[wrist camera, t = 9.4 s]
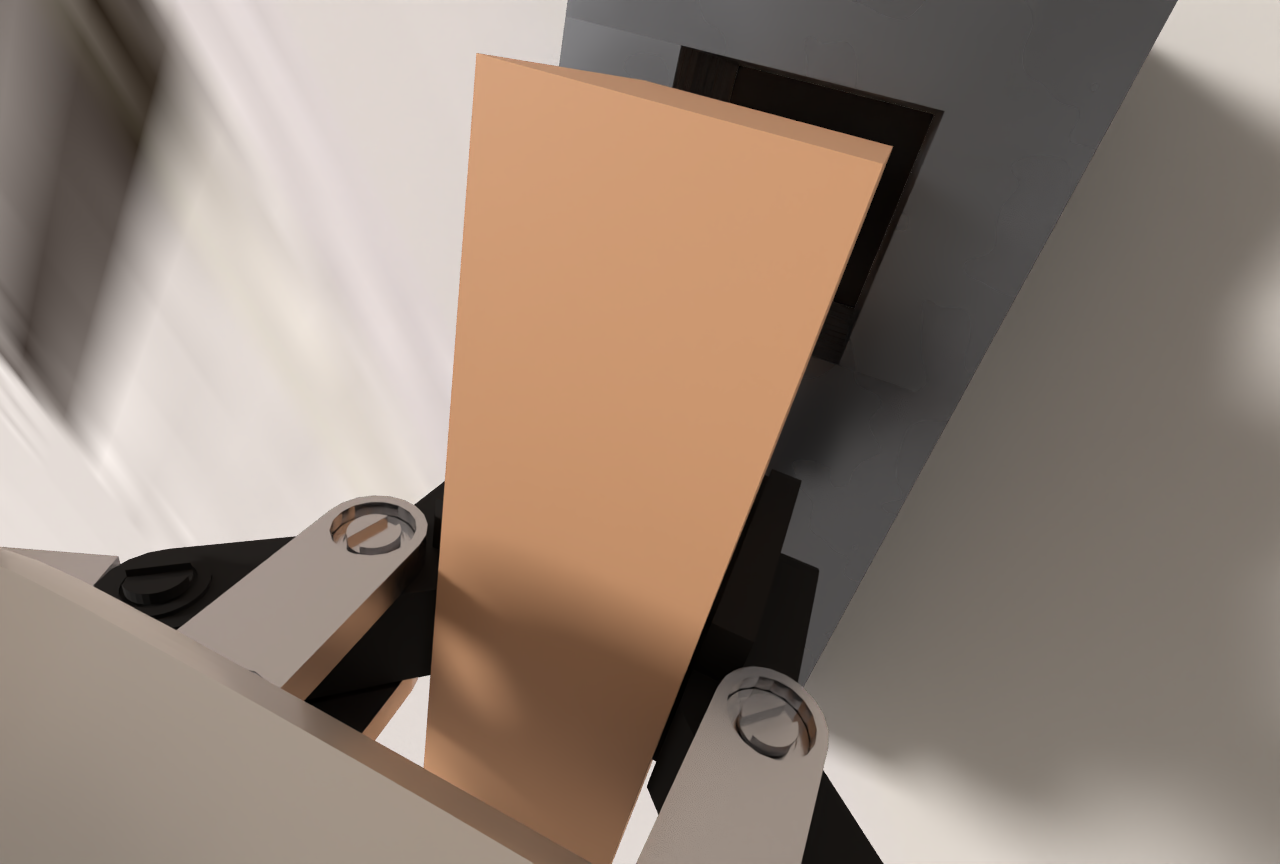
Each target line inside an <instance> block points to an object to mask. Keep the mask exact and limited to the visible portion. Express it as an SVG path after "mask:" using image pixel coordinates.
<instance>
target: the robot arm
mask: <svg viewBox="0 0 1280 864" xmlns="http://www.w3.org/2000/svg"><path fill="white" fill-rule="evenodd" d="M801 482H802V480H800V479H797V478H794V477H792V476H789V475H787V474H784V473H782V472H779V471H777V470H774V469H772V470H771V472H770V475H769V476H767V475H764V477H763V480H762V482H761V485H760V487H759V490H758V493H757V495H756V498H755V500H754V503H753V505H752V508H751V510H750V513H749V515H748V518H747V520H746V523H745V525H744V528H743V530H742V533H741V535H740V538H739V540H738V543H737V545H736V548H735V550H734V553H733V555H732V558H731V560H730V563H729V565H728V567H727V570H726V572H725V575H724V577H723V580H722V582H721V585H720V587H719V590H718V592H717V595H716V597H715V600H714V602H713V605H712V607H711V610H710V612H709V615H708V617H707V620H706V622H705V625H704V628H703V630H702V633H701V635H700V638H699V640H698V643H697V645H696V648H695V651H694V653H693V656H692V658H691V661H690V663H689V666H688V668H687V671H686V674H685V676H684V679H683V681H682V684H681V686H680V689H679V692H678V694H677V697H676V699H675V702H674V704H673V707H672V709H671V712H670V715H669V717H668V720H667V722H666V725H665V727H664V730H663V733H662V735H661V738H660V740H659V743H658V745H657V748H656V750H655V753H654V756H653V758H652V760H654V761H656V764H655V766H654V769H653V772H652V774H651V777H650V779H649V782H648V785H647V788H648V791H649V793H650V795H651V798H652V800H653V803H654V805H655V808H656V810H657V812H658V817H657V819H656V822H655V824H654V826H653V828H652V830H651V832H650V835H649V837H648V839H647V841H646V843H645V845H644V848H643V850H642V852H641V854H640V856H639V858H638V861H637V863H636V864H883V862H882V861H881V859H880V858H879V856H878V855H877V853H876V851H875V850H874V848H873V847H872V845H871V844H870V842H869V841H868V839H867V837H866V836H865V834H864V833H863V831H862V830H861V828H860V827H859V825H858V823H857V822H856V820H855V819H854V817H853V816H852V814H851V813H850V811H849V809H848V808H847V806H846V805H845V803H844V802H843V800H842V799H841V797H840V795H839V794H838V792H837V791H836V789H835V788H834V786H833V785H832V783H831V781H830V780H829V778H828V777H827V775H826V774H825V772H824V771H823V768H824V763H825V759H826V755H827V751H828V740H829V730H828V727H827V724H826V720H825V717H824V714H823V712H822V711H821V709H820V708H819V706H818V704H817V703H816V701H815V699H814V698H813V697H812V696H811V695H810V694H809V693H808V692H807V691H806V690H805V689H804V688H803V687H802V686H801V685H800V684H798V680H799V675H800V670H801V664H802V659H803V654H804V649H805V644H806V639H807V634H808V629H809V623H810V618H811V613H812V608H813V603H814V598H815V593H816V587H817V582H818V577H819V568H816V567H814V566H812V565H809V564H807V563H804V562H802V561H800V560H797V559H795V558H793V557H790V556H788V555H785V554H783V553H781V550H782V547H783V543H784V540H785V537H786V533H787V530H788V526H789V523H790V520H791V516H792V513H793V509H794V506H795V503H796V499H797V496H798V492H799V489H800V486H801ZM444 487H445V481H444V482H443V483H442V484H440V485H439V486H438V487H437V488H435V489H434V490H433V491H431V492H430V493H429V494H428V495H426V496H425V497H424V498H422V499H421V500H420V501H419V502H417V503H416V504H415V505H413V504H411V503H409V502H407V501H405V500H402V499H398V498H394V497H390V496H366V497H358V498H355V499H352V500H349V501H346V502H343V503H341V504H339V505H338V506H336V507H334V508H333V509H331V510H329V511H328V512H327V513H326V514H324V515H323V516H322V517H320V518H319V519H318V520H317V521H315V522H314V523H313V524H312V525H310V526H309V527H308V528H306V529H305V530H304V531H303V532H301V533H300V534H299V535H297V536H295V537H285V538H275V539H264V540H254V541H244V542H234V543H224V544H214V545H204V546H194V547H183V548H173V549H166V550H160V551H155V552H150V553H146V554H144V555H141V556H138V557H135V558H132V559H129V560H127V561H126V562H124V563H122V564H120V561H119V557H118V556H109V555H96V554H84V553H71V552H59V551H46V550H33V549H21V548H8V547H0V864H592V863H590V862H589V861H587V860H585V859H583V858H582V857H580V856H578V855H576V854H575V853H573V852H571V851H569V850H568V849H566V848H564V847H562V846H560V845H559V844H557V843H555V842H553V841H552V840H550V839H548V838H546V837H545V836H543V835H541V834H539V833H538V832H536V831H534V830H532V829H531V828H529V827H527V826H525V825H524V824H522V823H520V822H518V821H517V820H515V819H513V818H511V817H509V816H508V815H506V814H504V813H502V812H501V811H499V810H497V809H495V808H493V807H492V806H490V805H488V804H486V803H485V802H483V801H481V800H479V799H477V798H476V797H474V796H472V795H470V794H469V793H467V792H465V791H463V790H461V789H460V788H458V787H456V786H454V785H453V784H451V783H449V782H447V781H445V780H444V779H442V778H440V777H438V776H437V775H435V774H433V773H431V772H429V771H428V770H426V769H424V768H422V767H421V766H419V765H417V764H415V763H413V762H412V761H410V760H408V759H406V758H405V757H403V756H401V755H399V754H397V753H396V752H394V751H392V750H390V749H389V748H387V747H385V746H383V745H381V744H380V743H378V742H376V741H375V740H376V738H377V737H378V736H379V734H380V733H381V732H382V730H383V729H384V727H385V726H386V725H387V723H388V722H389V721H390V719H391V718H392V717H393V715H394V714H395V713H396V711H397V710H398V709H399V707H400V706H401V705H402V703H403V702H404V700H405V699H406V698H407V696H408V695H409V694H410V692H411V691H412V689H413V687H414V685H415V684H416V682H417V680H418V677H422V676H427V675H431V663H432V649H433V636H434V622H435V609H436V595H437V582H438V568H439V555H440V541H441V528H442V514H443V500H444Z"/></svg>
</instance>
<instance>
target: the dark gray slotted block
mask: <svg viewBox="0 0 1280 864" xmlns="http://www.w3.org/2000/svg"><path fill="white" fill-rule="evenodd" d="M1177 1H1178V0H568V3H567V10H566V18H565V25H564V33H563V40H562V48H561V55H560V63H559V67H565V68H571V69H577V70H583V71H590V72H596V73H602V74H608V75H614V76H620V77H627V78H633V79H639V80H645V81H648V82H652V83H656V84H660V85H664V86H667V87H671V88H675V89H679V90H682V91H686V92H690V93H694V94H697V95H701V96H705V97H709V98H712V99H716V100H720V101H724V102H727V103H730V99H731V95H732V91H733V87H734V83H735V80H736V76H737V72H738V68H739V65H740V66H744V67H748V68H752V69H756V70H760V71H764V72H768V73H772V74H776V75H780V76H783V77H787V78H791V79H795V80H799V81H803V82H807V83H811V84H815V85H819V86H823V87H827V88H831V89H835V90H839V91H843V92H847V93H851V94H855V95H859V96H863V97H867V98H871V99H875V100H879V101H883V102H887V103H891V104H895V105H899V106H903V107H907V108H911V109H915V110H919V111H923V112H927V113H931V114H934V116H933V119H932V121H931V123H930V126H929V128H928V131H927V133H926V135H925V138H924V140H923V143H922V145H921V148H920V150H919V152H918V155H917V157H916V160H915V162H914V165H913V167H912V169H911V172H910V174H909V177H908V179H907V182H906V184H905V186H904V189H903V191H902V194H901V196H900V199H899V201H898V203H897V206H896V208H895V211H894V213H893V215H892V218H891V220H890V223H889V225H888V228H887V230H886V232H885V235H884V237H883V240H882V242H881V245H880V247H879V249H878V252H877V254H876V257H875V259H874V262H873V264H872V266H871V269H870V271H869V274H868V276H867V278H866V281H865V283H864V286H863V288H862V291H861V293H860V295H859V298H858V300H857V303H856V305H855V308H852V307H849V306H846V305H843V304H840V303H837V302H834V301H832V304H831V306H830V309H829V311H828V314H827V316H826V319H825V321H824V324H823V327H822V329H821V332H820V334H819V337H818V339H817V342H816V344H815V347H814V350H813V352H812V355H811V357H810V360H809V362H808V365H807V367H806V370H805V373H804V375H803V378H802V380H801V383H800V385H799V388H798V390H797V393H796V396H795V398H794V401H793V403H792V406H791V408H790V411H789V413H788V416H787V419H786V421H785V424H784V426H783V429H782V431H781V434H780V436H779V439H778V442H777V444H776V447H775V449H774V452H773V454H772V457H771V459H770V462H769V464H768V467H767V470H766V472H765V475H767V476H769V475H770V472H771V470H772V469H774V470H777V471H779V472H782V473H784V474H787V475H789V476H792V477H794V478H797V479H800V480H802V482H801V486H800V489H799V492H798V496H797V499H796V503H795V506H794V509H793V513H792V516H791V520H790V523H789V526H788V530H787V533H786V537H785V540H784V543H783V547H782V550H781V553H783V554H785V555H788V556H790V557H793V558H795V559H797V560H800V561H802V562H804V563H807V564H809V565H812V566H814V567H816V568H819V577H818V582H817V587H816V593H815V598H814V603H813V608H812V613H811V618H810V623H809V629H808V634H807V639H806V644H805V649H804V654H803V659H802V664H801V670H800V675H799V680H798V684H800V685H801V686H802V687H804V685H805V683H806V681H807V679H808V677H809V676H810V674H811V672H812V670H813V668H814V666H815V665H816V663H817V661H818V659H819V657H820V655H821V654H822V652H823V650H824V648H825V646H826V644H827V643H828V641H829V639H830V637H831V635H832V633H833V632H834V630H835V628H836V626H837V624H838V622H839V621H840V619H841V617H842V615H843V613H844V611H845V610H846V608H847V606H848V604H849V602H850V600H851V599H852V597H853V595H854V593H855V591H856V589H857V588H858V586H859V584H860V582H861V580H862V578H863V577H864V575H865V573H866V571H867V569H868V567H869V566H870V564H871V562H872V560H873V558H874V556H875V555H876V553H877V551H878V549H879V547H880V545H881V543H882V542H883V540H884V538H885V536H886V534H887V532H888V531H889V529H890V527H891V525H892V523H893V521H894V520H895V518H896V516H897V514H898V512H899V510H900V509H901V507H902V505H903V503H904V501H905V499H906V498H907V496H908V494H909V492H910V490H911V488H912V487H913V485H914V483H915V481H916V479H917V477H918V476H919V474H920V472H921V470H922V468H923V466H924V465H925V463H926V461H927V459H928V457H929V455H930V454H931V452H932V450H933V448H934V446H935V444H936V443H937V441H938V439H939V437H940V435H941V433H942V432H943V430H944V428H945V426H946V424H947V422H948V421H949V419H950V417H951V415H952V413H953V411H954V410H955V408H956V406H957V404H958V402H959V400H960V399H961V397H962V395H963V393H964V391H965V389H966V388H967V386H968V384H969V382H970V380H971V378H972V377H973V375H974V373H975V371H976V369H977V367H978V366H979V364H980V362H981V360H982V358H983V356H984V355H985V353H986V351H987V349H988V347H989V345H990V344H991V342H992V340H993V338H994V336H995V334H996V333H997V331H998V329H999V327H1000V325H1001V323H1002V322H1003V320H1004V318H1005V316H1006V314H1007V312H1008V311H1009V309H1010V307H1011V305H1012V303H1013V301H1014V300H1015V298H1016V296H1017V294H1018V292H1019V290H1020V289H1021V287H1022V285H1023V283H1024V281H1025V279H1026V278H1027V276H1028V274H1029V272H1030V270H1031V268H1032V267H1033V265H1034V263H1035V261H1036V259H1037V257H1038V256H1039V254H1040V252H1041V250H1042V248H1043V246H1044V245H1045V243H1046V241H1047V239H1048V237H1049V235H1050V234H1051V232H1052V230H1053V228H1054V226H1055V224H1056V223H1057V221H1058V219H1059V217H1060V215H1061V213H1062V212H1063V210H1064V208H1065V206H1066V204H1067V202H1068V201H1069V199H1070V197H1071V195H1072V193H1073V191H1074V190H1075V188H1076V186H1077V184H1078V182H1079V180H1080V179H1081V177H1082V175H1083V173H1084V171H1085V169H1086V168H1087V166H1088V164H1089V162H1090V160H1091V158H1092V157H1093V155H1094V153H1095V151H1096V149H1097V147H1098V146H1099V144H1100V142H1101V140H1102V138H1103V136H1104V135H1105V133H1106V131H1107V129H1108V127H1109V125H1110V123H1111V122H1112V120H1113V118H1114V116H1115V114H1116V112H1117V111H1118V109H1119V107H1120V105H1121V103H1122V101H1123V100H1124V98H1125V96H1126V94H1127V92H1128V90H1129V89H1130V87H1131V85H1132V83H1133V81H1134V79H1135V78H1136V76H1137V74H1138V72H1139V70H1140V68H1141V67H1142V65H1143V63H1144V61H1145V59H1146V57H1147V56H1148V54H1149V52H1150V50H1151V48H1152V46H1153V45H1154V43H1155V41H1156V39H1157V37H1158V35H1159V34H1160V32H1161V30H1162V28H1163V26H1164V24H1165V23H1166V21H1167V19H1168V17H1169V15H1170V13H1171V12H1172V10H1173V8H1174V6H1175V4H1176V2H1177Z"/></svg>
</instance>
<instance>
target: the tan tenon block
mask: <svg viewBox="0 0 1280 864" xmlns="http://www.w3.org/2000/svg"><path fill="white" fill-rule="evenodd" d="M892 148H893V146H889V145H885V144H882V143H878V142H874V141H870V140H867V139H863V138H859V137H855V136H852V135H848V134H844V133H840V132H837V131H833V130H829V129H825V128H822V127H818V126H814V125H810V124H806V123H803V122H799V121H795V120H791V119H788V118H784V117H780V116H776V115H773V114H769V113H765V112H761V111H758V110H754V109H750V108H746V107H743V106H739V105H735V104H731V103H727V102H724V101H720V100H716V99H712V98H709V97H705V96H701V95H697V94H694V93H690V92H686V91H682V90H679V89H675V88H671V87H667V86H664V85H660V84H656V83H652V82H648V81H645V80H639V79H633V78H627V77H620V76H614V75H608V74H602V73H596V72H590V71H583V70H577V69H571V68H565V67H559V66H553V65H547V64H540V63H534V62H528V61H522V60H516V59H510V58H503V57H497V56H491V55H485V54H479V53H477V54H476V68H475V82H474V95H473V109H472V122H471V136H470V149H469V163H468V176H467V190H466V203H465V217H464V230H463V244H462V257H461V271H460V284H459V298H458V311H457V325H456V338H455V352H454V365H453V379H452V392H451V406H450V419H449V433H448V446H447V460H446V473H445V487H444V500H443V514H442V528H441V541H440V555H439V568H438V582H437V595H436V609H435V622H434V636H433V649H432V663H431V676H430V690H429V703H428V717H427V730H426V744H425V757H424V769H426V770H428V771H429V772H431V773H433V774H435V775H437V776H438V777H440V778H442V779H444V780H445V781H447V782H449V783H451V784H453V785H454V786H456V787H458V788H460V789H461V790H463V791H465V792H467V793H469V794H470V795H472V796H474V797H476V798H477V799H479V800H481V801H483V802H485V803H486V804H488V805H490V806H492V807H493V808H495V809H497V810H499V811H501V812H502V813H504V814H506V815H508V816H509V817H511V818H513V819H515V820H517V821H518V822H520V823H522V824H524V825H525V826H527V827H529V828H531V829H532V830H534V831H536V832H538V833H539V834H541V835H543V836H545V837H546V838H548V839H550V840H552V841H553V842H555V843H557V844H559V845H560V846H562V847H564V848H566V849H568V850H569V851H571V852H573V853H575V854H576V855H578V856H580V857H582V858H583V859H585V860H587V861H589V862H590V863H592V864H612V862H613V859H614V857H615V854H616V852H617V849H618V847H619V844H620V842H621V839H622V837H623V834H624V832H625V829H626V827H627V824H628V822H629V819H630V817H631V814H632V811H633V809H634V806H635V804H636V801H637V799H638V796H639V794H640V791H641V789H642V786H643V784H644V781H645V779H646V776H647V773H648V771H649V768H650V766H651V763H652V761H653V760H652V758H653V756H654V753H655V750H656V748H657V745H658V743H659V740H660V738H661V735H662V733H663V730H664V727H665V725H666V722H667V720H668V717H669V715H670V712H671V709H672V707H673V704H674V702H675V699H676V697H677V694H678V692H679V689H680V686H681V684H682V681H683V679H684V676H685V674H686V671H687V668H688V666H689V663H690V661H691V658H692V656H693V653H694V651H695V648H696V645H697V643H698V640H699V638H700V635H701V633H702V630H703V628H704V625H705V622H706V620H707V617H708V615H709V612H710V610H711V607H712V605H713V602H714V600H715V597H716V595H717V592H718V590H719V587H720V585H721V582H722V580H723V577H724V575H725V572H726V570H727V567H728V565H729V563H730V560H731V558H732V555H733V553H734V550H735V548H736V545H737V543H738V540H739V538H740V535H741V533H742V530H743V528H744V525H745V523H746V520H747V518H748V515H749V513H750V510H751V508H752V505H753V503H754V500H755V498H756V495H757V493H758V490H759V487H760V485H761V482H762V480H763V477H764V475H765V472H766V470H767V467H768V464H769V462H770V459H771V457H772V454H773V452H774V449H775V447H776V444H777V442H778V439H779V436H780V434H781V431H782V429H783V426H784V424H785V421H786V419H787V416H788V413H789V411H790V408H791V406H792V403H793V401H794V398H795V396H796V393H797V390H798V388H799V385H800V383H801V380H802V378H803V375H804V373H805V370H806V367H807V365H808V362H809V360H810V357H811V355H812V352H813V350H814V347H815V344H816V342H817V339H818V337H819V334H820V332H821V329H822V327H823V324H824V321H825V319H826V316H827V314H828V311H829V309H830V306H831V304H832V301H833V299H834V296H835V293H836V291H837V288H838V286H839V283H840V281H841V278H842V276H843V273H844V270H845V268H846V265H847V263H848V260H849V258H850V255H851V253H852V250H853V247H854V245H855V242H856V240H857V237H858V235H859V232H860V230H861V227H862V224H863V222H864V219H865V217H866V214H867V212H868V209H869V207H870V204H871V201H872V199H873V196H874V194H875V191H876V189H877V186H878V184H879V181H880V179H881V176H882V173H883V171H884V168H885V166H886V163H887V161H888V158H889V156H890V153H891V150H892Z"/></svg>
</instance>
